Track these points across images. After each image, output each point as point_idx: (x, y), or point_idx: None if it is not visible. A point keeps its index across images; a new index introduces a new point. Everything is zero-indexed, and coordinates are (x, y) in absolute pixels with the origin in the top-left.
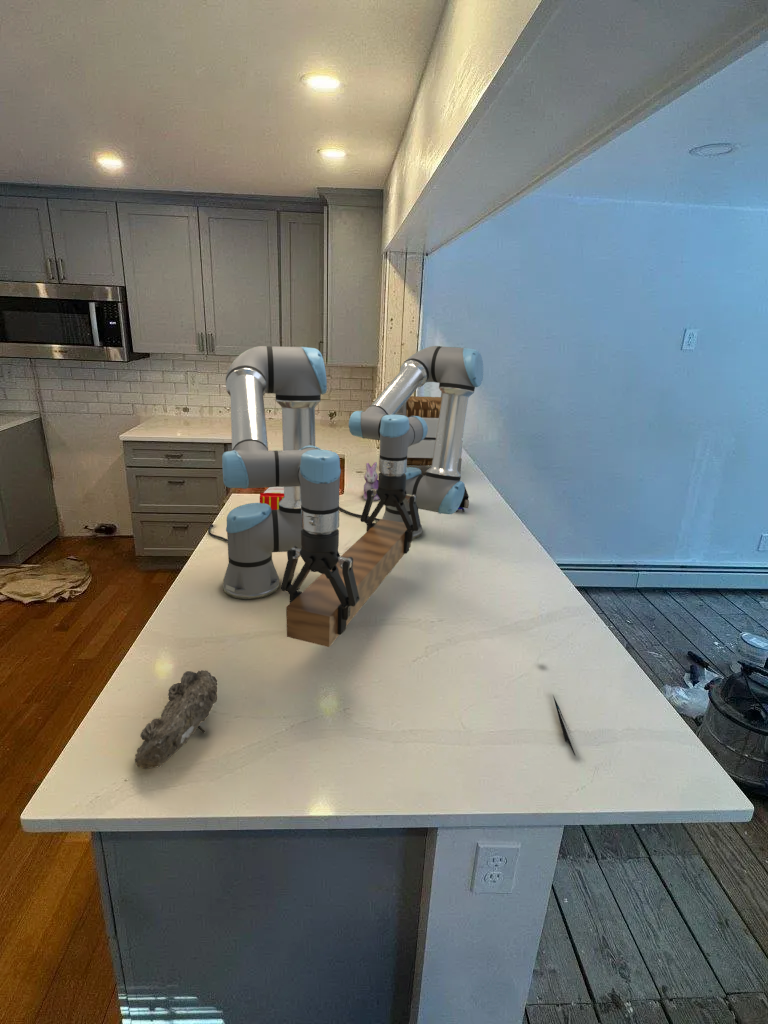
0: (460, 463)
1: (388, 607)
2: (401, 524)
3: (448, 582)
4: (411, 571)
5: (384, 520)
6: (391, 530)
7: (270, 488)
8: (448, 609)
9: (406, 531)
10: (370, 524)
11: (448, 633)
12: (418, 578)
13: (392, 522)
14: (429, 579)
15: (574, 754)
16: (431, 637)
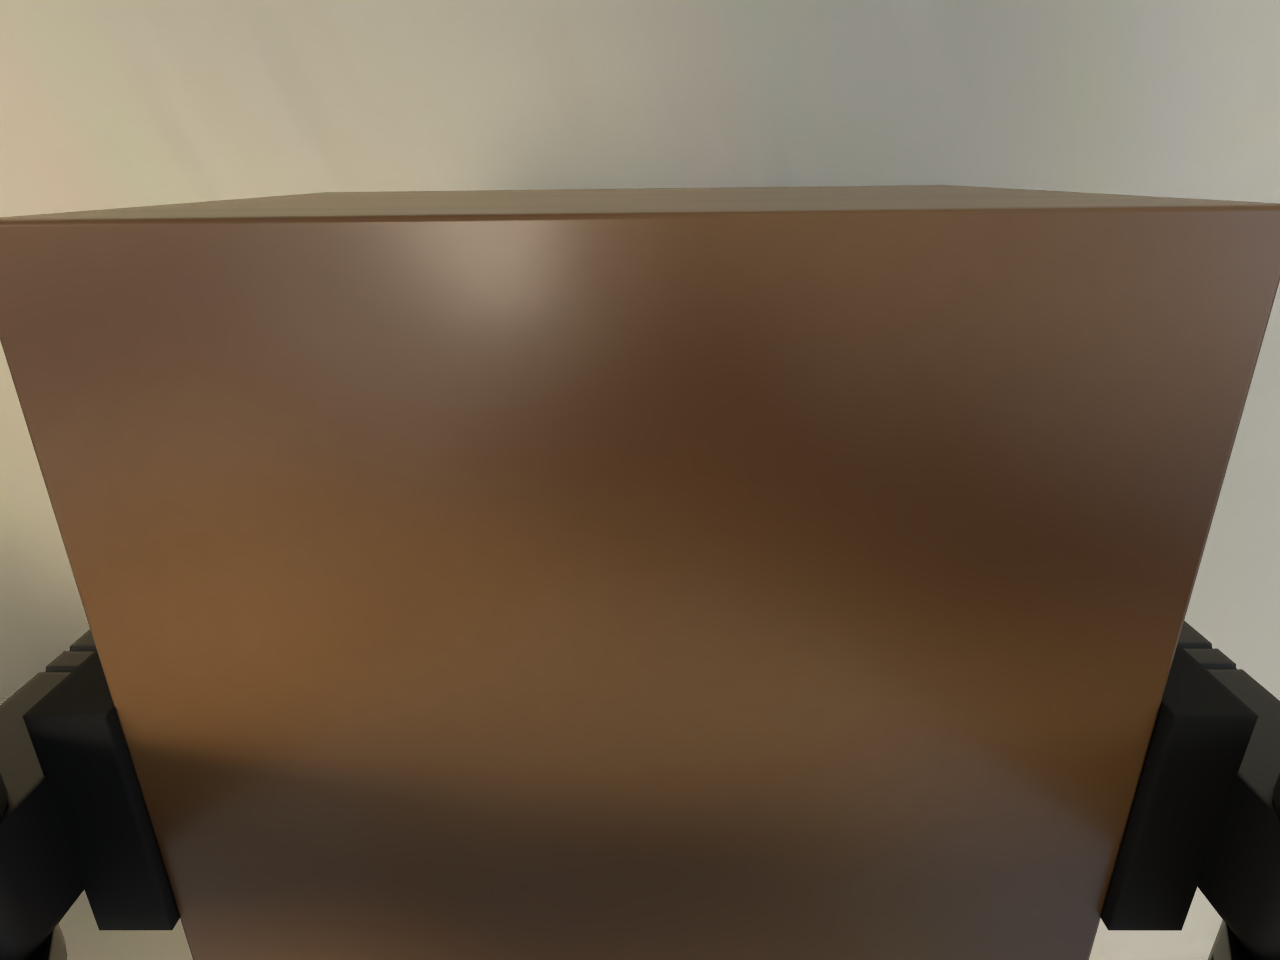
0: None
1: None
2: (900, 432)
3: (1262, 108)
4: (809, 3)
5: (188, 332)
6: (737, 940)
7: None
8: (1241, 617)
9: (1150, 895)
10: (65, 900)
11: None
12: (921, 159)
13: (539, 388)
14: (1044, 128)
15: None
16: (1124, 937)
